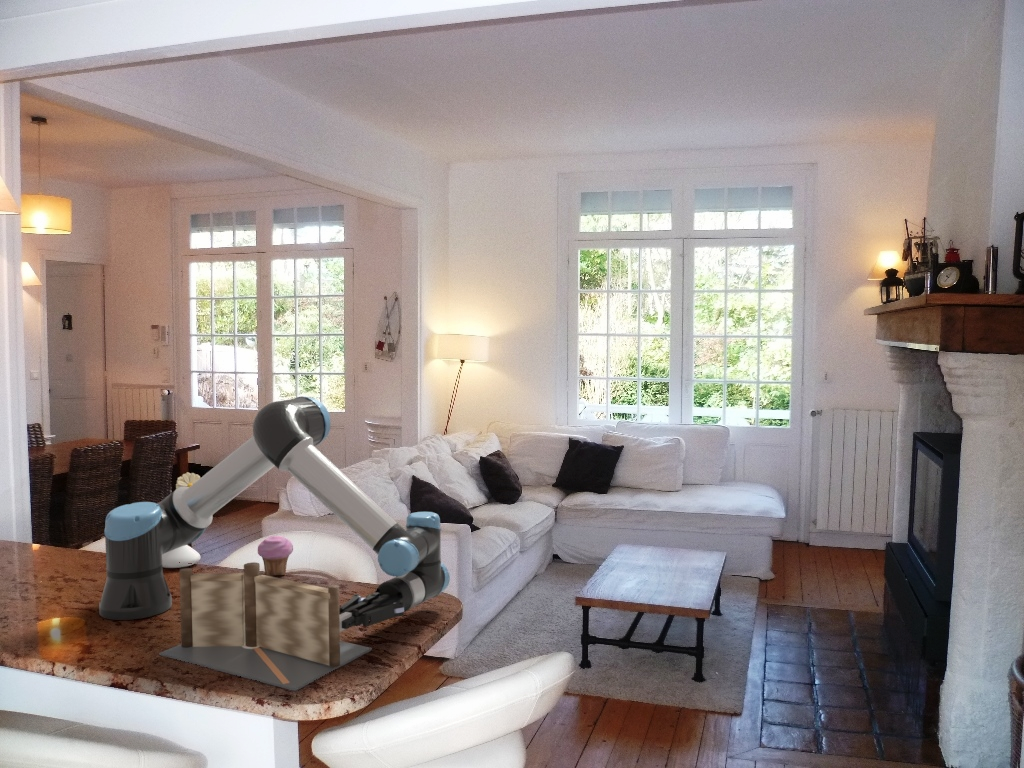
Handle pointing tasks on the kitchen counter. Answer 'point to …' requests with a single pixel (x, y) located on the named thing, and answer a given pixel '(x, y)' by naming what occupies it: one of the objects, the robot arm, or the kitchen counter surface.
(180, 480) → the flower in vase
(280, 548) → the cupcake
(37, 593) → the kitchen counter surface
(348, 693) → the kitchen counter surface
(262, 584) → the fence panel
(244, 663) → the card
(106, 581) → the robot arm
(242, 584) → the wooden fence section
